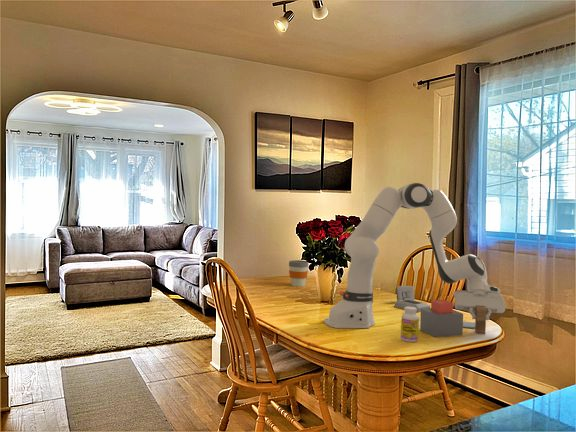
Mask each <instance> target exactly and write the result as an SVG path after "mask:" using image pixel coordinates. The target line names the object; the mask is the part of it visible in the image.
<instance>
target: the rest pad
mask: <svg viewBox="0 0 576 432" xmlns="http://www.w3.org/2000/svg"><path fill="white" fill-rule="evenodd" d="M463 329H472V330H473V329H474V330H475V322H472V321H463Z"/></svg>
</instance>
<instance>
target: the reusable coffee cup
mask: <svg viewBox="0 0 576 432" xmlns="http://www.w3.org/2000/svg"><path fill="white" fill-rule="evenodd" d="M306 261H307V260H298V259H297V260H289V261H288V267H289V270H288V274H289V278H290V285H291V286H293V287H305V286H306V280H307V277H308V272H309V270H308V268H309V262H306Z"/></svg>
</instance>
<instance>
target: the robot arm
mask: <svg viewBox="0 0 576 432" xmlns="http://www.w3.org/2000/svg"><path fill="white" fill-rule="evenodd" d="M400 208H402V209H406V210H407V209H408V210H409V209H411V210H414V209H418V208H422V209H424V211H425V212H426V214H427V216H428V218H429V220H430V223H431V228H430V230H429V232H428V233H429V240H430V245H431V247H432V251H433V254H434V259H435V262H436V265H437V266H436V267H437V270H438V275H439V277H440V280H441V281H442V282H444V283H446V284H448V285H452V284H455V283H457V282H459V281H461V280H465V279H466V281H467V284H466V287H467V288H466V289H467V290H465V289H464V290H463V289H462V290H461V289H458V290H455V291H454V292H453V297H454V299H455V300H454V308H455V310H456V311H457V310H459V311H468V313H469V314H470V315H471V317H472V318H471V319H472V320H475V319H476V313H475V312H476V305H478V306H485V307H486V321H490V317H491V314H492V313H496V314H498V313H499V314H503V313H504V312H505V311H506V307H507V306H506V302H505V298H504V296H503V295H502V294H501V289H500V288H499V287H496V286H493V285H490V284H489V283H488V273H487V268H486V264H485V263H484V261H483V260H482V259H481V258H479V257H478V256H476V255H475V254H472V253H469V254H466V255H465V254H464V255H462V256H459V257H456V258H454V259H451V260H450V259H449V260H448V258H447V255H446V251H445V248H444V244H443V243H444V242H443V241H444V239H445V237H447V236H448V235H449V234H450V233H451V232H452V231H453V230H454V229H455V228H456V225H457V224H458V217H457V214H456V211H455V209H454V207H453V205H452V203H451V202H450V200H449V199H448V196H446V194H445V193H444V192H443V190H440V189H430V188H428V187H427V186H426V185H425V184H422V183H420V182H413V183H409V184H405V185H404V186H402V187H401V188H399V189H397V188H395V187H392V186H387V187H383V189H382V190H381V191H380V192H379V193H378V195H377V196H376V197H375V199H374V200H373V202H372V203H371V205H370V207H369V208H368V210H367V212H366V214H365V215H364V216H363V219H362V220H361V221H360V222H359V224H358V225H357V226H356V227H355V228H354V230H353V231H352V232H351V234H350V236H348V237H347V238H346V239H345V240H344V241H345V242H344V249H345V252H346V253H347V255H348V256H349V257H350V265H349V269H348V271H347V278H346V279H347V282H346V290H345V291H344V290H343V291H342V290H339V292H338V294H339V296H342V299H341V300H339V302H337V303H336V304H335V305H333V306H331V308H330V310H329V314H328V317H325V318H324V319H323V323H324V324H325V325H327V326H328V327H331V328H334V329H370V328H371V327H372V326H374V325H375V324H376V323H375V318H374V313H373V302H374V292H373V275H374V270H375V265H376V260H377V258H378V255H379V254H380V253H379V252H380V251H379V250H380V248H379V246H378V244H377V242H376V241H377V240H378V239H379V238H380V237H381V236H382V235H383V234H384V233H385V232H386V230H387V229H388V227H389V226H390V224H391V223H392V221H393V219H394V217H395V215H396V214H397V212H398V211H399V209H400Z"/></svg>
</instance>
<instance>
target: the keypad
mask: <svg viewBox="0 0 576 432" xmlns="http://www.w3.org/2000/svg"><path fill="white" fill-rule="evenodd" d="M407 306H410V307H416V308H417V311H416V313H421V309H429V308H431V304H430V305H429V304H427V303H425V302H423V301H422V302H421V301H417V300H415V301H413V300H409V299H405V300H399V301H397V300H396V301H395V302H394V307H396V308H399V309H403V310H404V308H405V307H407Z"/></svg>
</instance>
